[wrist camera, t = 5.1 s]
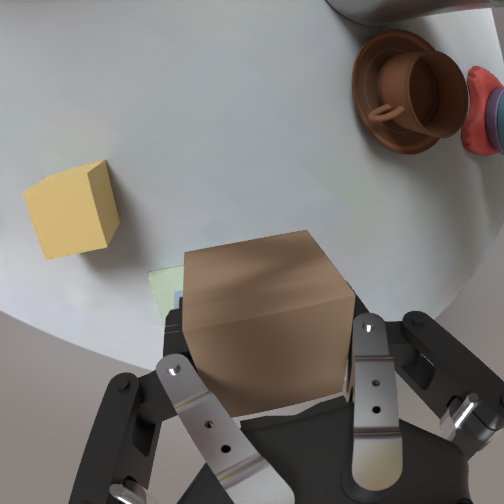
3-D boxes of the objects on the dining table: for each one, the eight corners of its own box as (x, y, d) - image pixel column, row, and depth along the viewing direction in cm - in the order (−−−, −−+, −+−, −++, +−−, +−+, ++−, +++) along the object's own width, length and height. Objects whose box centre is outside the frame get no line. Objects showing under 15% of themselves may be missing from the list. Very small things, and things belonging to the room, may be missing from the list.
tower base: (256, 252, 28) (271, 288, 23) (264, 332, 33) (277, 371, 28) (148, 272, 27) (141, 311, 22) (174, 348, 32) (175, 390, 27)
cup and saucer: (397, 174, 27) (437, 193, 22) (316, 86, 22) (352, 85, 17) (454, 98, 24) (496, 106, 19) (389, 10, 19) (431, -1, 14)
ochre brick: (105, 159, 22) (87, 173, 17) (120, 221, 24) (107, 247, 20) (49, 175, 21) (23, 192, 17) (66, 233, 24) (46, 260, 19)
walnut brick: (306, 229, 14) (355, 294, 9) (308, 320, 16) (341, 391, 12) (184, 252, 13) (182, 330, 9) (209, 341, 16) (217, 419, 12)
